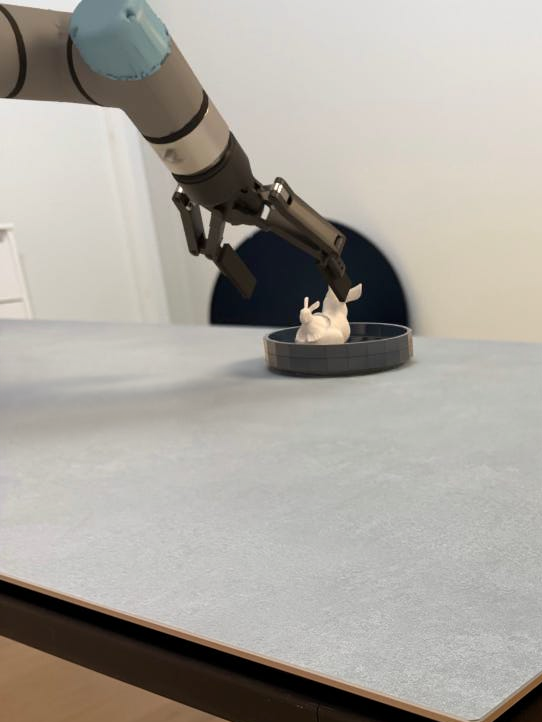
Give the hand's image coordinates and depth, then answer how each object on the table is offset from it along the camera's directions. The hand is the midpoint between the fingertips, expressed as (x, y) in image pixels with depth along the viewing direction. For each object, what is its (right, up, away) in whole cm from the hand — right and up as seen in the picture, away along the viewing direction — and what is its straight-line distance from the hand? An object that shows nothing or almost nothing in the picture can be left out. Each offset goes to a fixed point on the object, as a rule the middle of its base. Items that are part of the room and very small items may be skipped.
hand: (297, 291), depth 115 cm
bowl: (+4, -6, +11) cm, 13 cm away
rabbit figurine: (+3, -6, +9) cm, 11 cm away
